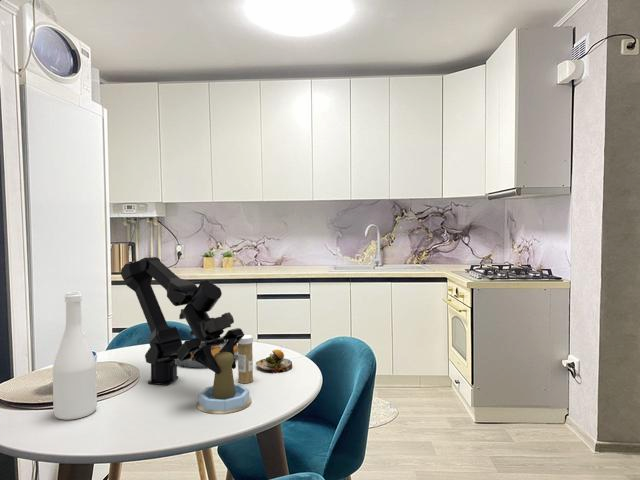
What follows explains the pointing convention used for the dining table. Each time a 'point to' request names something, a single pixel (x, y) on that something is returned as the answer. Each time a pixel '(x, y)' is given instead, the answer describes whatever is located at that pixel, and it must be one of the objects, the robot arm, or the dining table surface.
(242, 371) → the sprinkles bottle
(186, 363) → the pie
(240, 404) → the bowl
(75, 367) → the wine bottle
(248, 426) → the dining table surface
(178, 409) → the dining table surface
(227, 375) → the cork
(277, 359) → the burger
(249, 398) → the placemat
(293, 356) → the dining table surface
